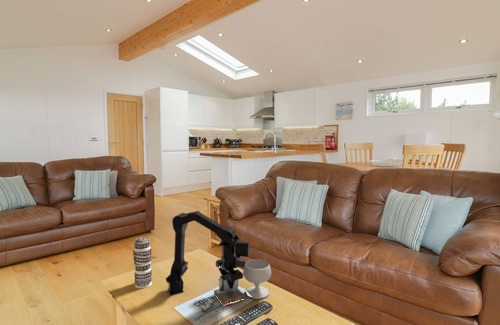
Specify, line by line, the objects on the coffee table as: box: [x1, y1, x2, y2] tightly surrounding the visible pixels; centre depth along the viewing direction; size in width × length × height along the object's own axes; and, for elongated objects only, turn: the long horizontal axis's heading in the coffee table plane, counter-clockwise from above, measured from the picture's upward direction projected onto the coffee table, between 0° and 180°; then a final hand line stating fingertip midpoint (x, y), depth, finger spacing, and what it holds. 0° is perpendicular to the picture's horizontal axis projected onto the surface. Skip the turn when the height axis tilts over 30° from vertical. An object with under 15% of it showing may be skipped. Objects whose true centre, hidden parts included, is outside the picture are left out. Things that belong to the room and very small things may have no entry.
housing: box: [218, 274, 239, 293], centre depth 140 cm, size 10×5×6 cm, turn 119°
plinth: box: [213, 288, 246, 305], centre depth 140 cm, size 11×11×3 cm
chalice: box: [242, 258, 272, 300], centre depth 144 cm, size 14×14×15 cm
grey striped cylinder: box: [132, 236, 153, 289], centre depth 152 cm, size 9×9×25 cm
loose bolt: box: [200, 301, 213, 312], centre depth 131 cm, size 6×3×3 cm, turn 149°
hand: (228, 286), depth 140 cm, fingers closed on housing, 5 cm apart
